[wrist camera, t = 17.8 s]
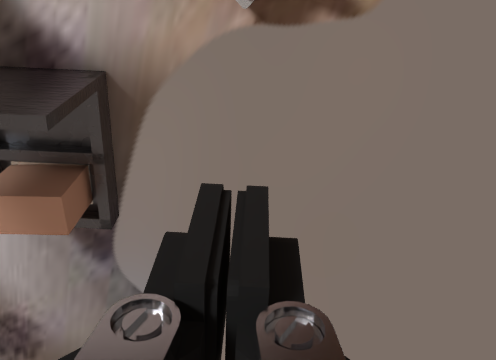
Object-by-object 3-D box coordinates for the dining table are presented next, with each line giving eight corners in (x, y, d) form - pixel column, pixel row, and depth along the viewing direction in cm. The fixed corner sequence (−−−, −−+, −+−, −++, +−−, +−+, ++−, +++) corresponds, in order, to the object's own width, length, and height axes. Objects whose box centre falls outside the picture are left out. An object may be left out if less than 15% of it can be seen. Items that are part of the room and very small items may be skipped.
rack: (6, 210, 46) (-73, 290, 35) (-25, 65, 40) (-133, 107, 29) (119, 216, 46) (73, 298, 35) (105, 71, 40) (45, 116, 29)
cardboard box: (18, 199, 44) (-16, 233, 39) (10, 164, 42) (-27, 195, 37) (92, 200, 44) (68, 235, 38) (87, 165, 42) (61, 197, 37)
